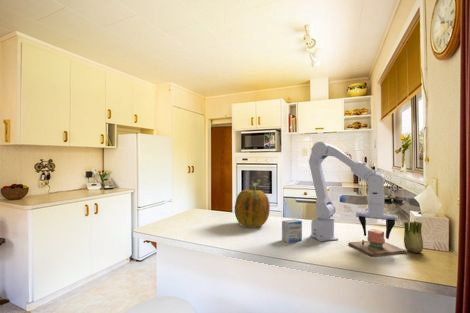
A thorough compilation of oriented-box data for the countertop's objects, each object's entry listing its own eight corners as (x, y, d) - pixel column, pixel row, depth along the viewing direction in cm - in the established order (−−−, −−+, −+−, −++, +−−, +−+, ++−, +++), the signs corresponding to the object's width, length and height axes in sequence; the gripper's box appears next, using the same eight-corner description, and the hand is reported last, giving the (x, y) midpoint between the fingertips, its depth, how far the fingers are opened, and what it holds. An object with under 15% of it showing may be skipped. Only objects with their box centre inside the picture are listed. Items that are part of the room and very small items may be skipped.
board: (371, 256, 84) (371, 249, 84) (348, 244, 96) (348, 238, 96) (406, 253, 88) (406, 246, 88) (379, 242, 100) (379, 236, 100)
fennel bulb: (403, 251, 90) (403, 220, 90) (405, 248, 93) (404, 218, 93) (422, 255, 86) (422, 223, 86) (423, 251, 89) (423, 221, 90)
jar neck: (376, 248, 89) (376, 244, 89) (366, 244, 94) (366, 240, 94) (385, 247, 90) (385, 243, 90) (375, 243, 95) (375, 239, 95)
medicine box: (288, 243, 97) (288, 222, 97) (281, 240, 101) (281, 220, 101) (302, 240, 101) (302, 220, 101) (295, 237, 105) (295, 218, 105)
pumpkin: (267, 222, 131) (267, 178, 132) (271, 232, 112) (272, 181, 112) (234, 221, 131) (235, 178, 132) (233, 231, 112) (234, 181, 113)
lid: (387, 241, 92) (387, 231, 92) (381, 245, 88) (381, 233, 88) (370, 237, 96) (370, 227, 96) (364, 240, 92) (364, 230, 93)
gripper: (395, 203, 93) (395, 236, 92) (355, 200, 99) (355, 231, 99) (399, 206, 86) (399, 242, 86) (355, 202, 93) (355, 236, 93)
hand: (375, 236), depth 92 cm, fingers open, 7 cm apart
